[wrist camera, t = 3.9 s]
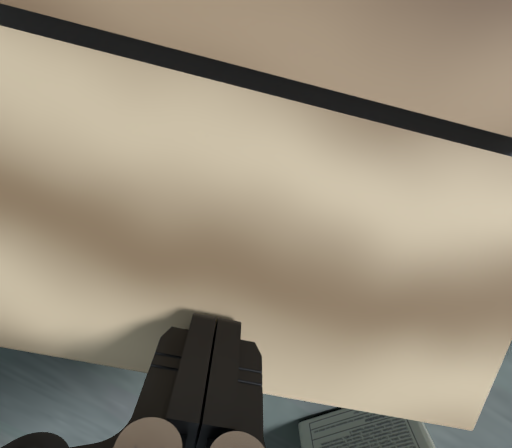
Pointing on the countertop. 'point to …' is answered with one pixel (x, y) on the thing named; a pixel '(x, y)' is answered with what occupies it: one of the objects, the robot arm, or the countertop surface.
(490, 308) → the oak plank
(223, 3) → the laid plank
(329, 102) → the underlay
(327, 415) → the skincare box
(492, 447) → the countertop surface
